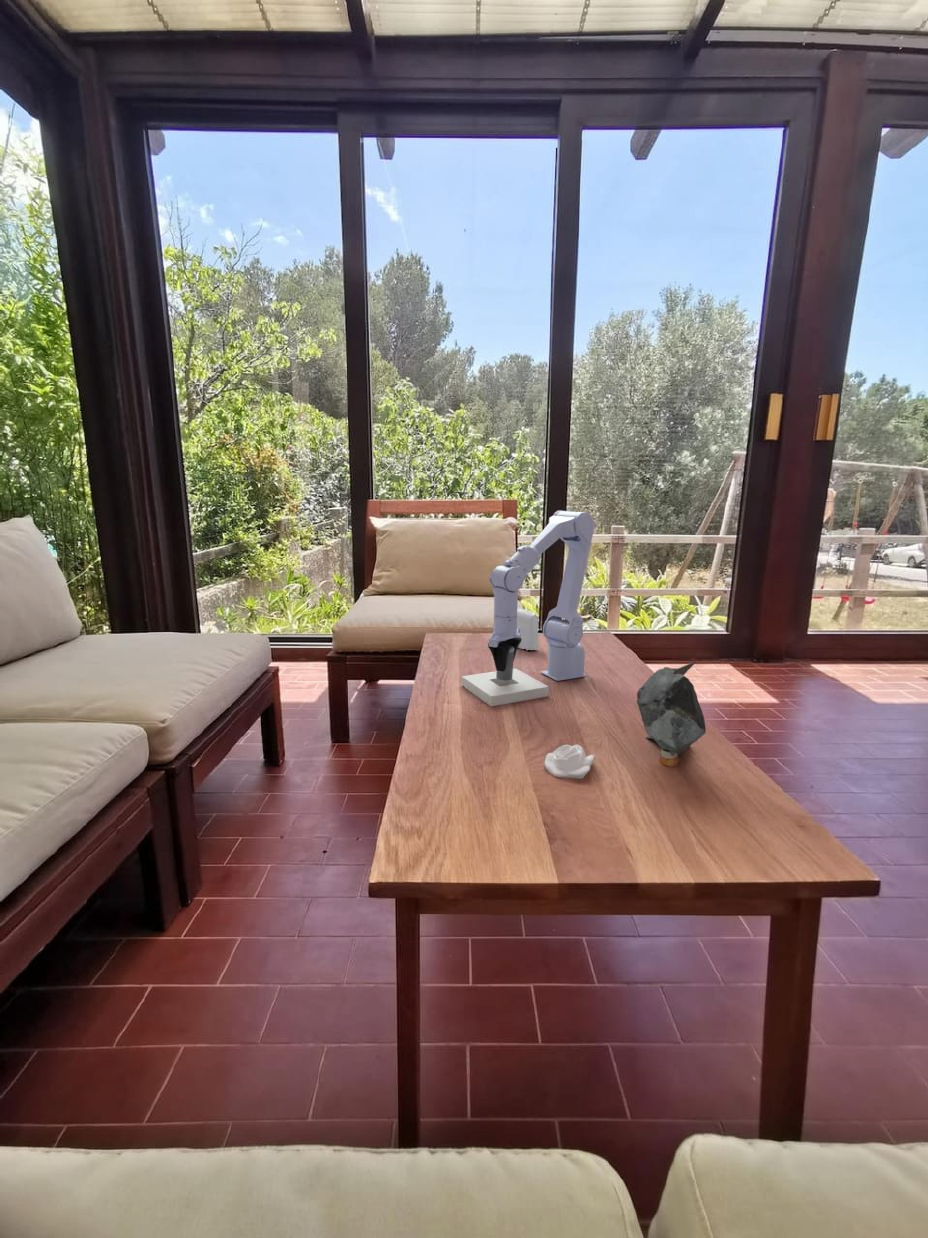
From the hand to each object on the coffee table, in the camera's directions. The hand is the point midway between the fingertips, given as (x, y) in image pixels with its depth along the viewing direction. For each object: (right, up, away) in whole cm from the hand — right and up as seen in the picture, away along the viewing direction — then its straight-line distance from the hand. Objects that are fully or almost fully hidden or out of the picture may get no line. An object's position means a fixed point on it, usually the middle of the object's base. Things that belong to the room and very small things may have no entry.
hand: (504, 668), depth 148 cm
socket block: (0, -6, +1) cm, 6 cm away
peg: (0, -2, +1) cm, 2 cm away
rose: (+10, -16, -38) cm, 42 cm away
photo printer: (+9, +3, +40) cm, 41 cm away
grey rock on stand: (+29, -14, -34) cm, 47 cm away
